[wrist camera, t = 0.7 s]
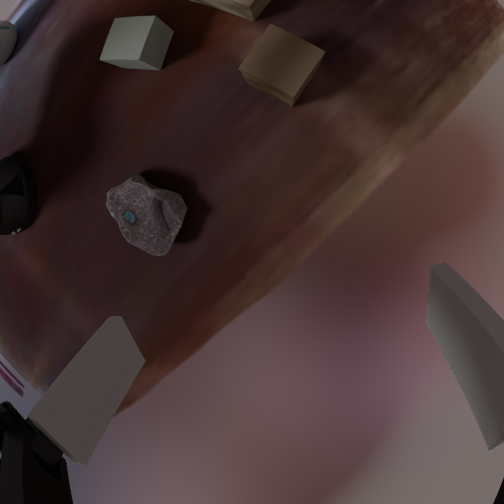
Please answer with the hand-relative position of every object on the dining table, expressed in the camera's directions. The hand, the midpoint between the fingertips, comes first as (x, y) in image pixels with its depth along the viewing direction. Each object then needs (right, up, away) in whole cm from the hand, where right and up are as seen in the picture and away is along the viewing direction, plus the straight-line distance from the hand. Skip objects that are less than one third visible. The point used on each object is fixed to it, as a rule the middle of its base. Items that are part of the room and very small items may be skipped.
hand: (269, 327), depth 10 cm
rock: (-14, +9, +25) cm, 30 cm away
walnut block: (+3, +23, +17) cm, 29 cm away
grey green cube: (-14, +30, +17) cm, 37 cm away
